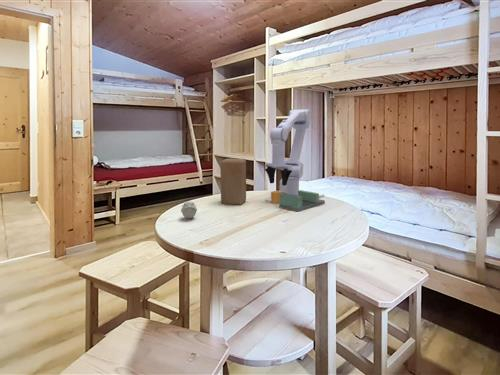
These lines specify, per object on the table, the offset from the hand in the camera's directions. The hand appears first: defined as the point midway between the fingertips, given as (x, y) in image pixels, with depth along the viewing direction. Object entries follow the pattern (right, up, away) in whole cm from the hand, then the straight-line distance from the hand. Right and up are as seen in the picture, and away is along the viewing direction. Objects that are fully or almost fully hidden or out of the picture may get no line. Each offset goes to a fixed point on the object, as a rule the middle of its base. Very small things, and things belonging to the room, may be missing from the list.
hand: (278, 184), depth 155 cm
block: (-21, -9, +1) cm, 22 cm away
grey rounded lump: (-36, -14, -25) cm, 46 cm away
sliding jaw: (+15, -7, -1) cm, 17 cm away
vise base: (+10, -10, -5) cm, 15 cm away
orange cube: (0, -8, +2) cm, 9 cm away
